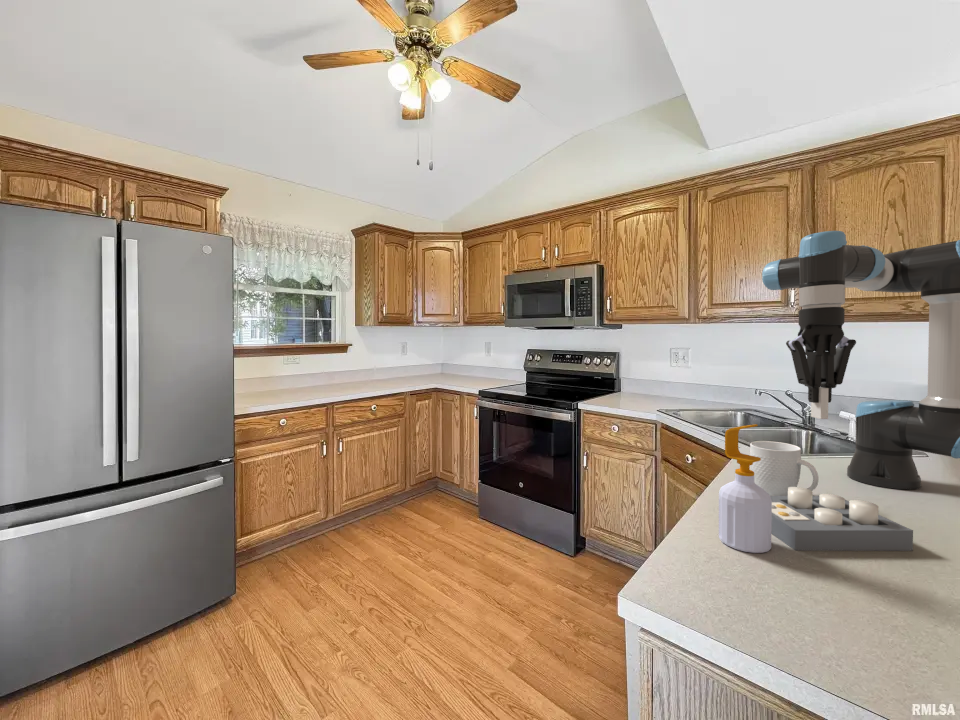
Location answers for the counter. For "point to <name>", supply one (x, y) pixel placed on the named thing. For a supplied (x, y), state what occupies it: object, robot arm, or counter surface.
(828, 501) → the button
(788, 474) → the mug
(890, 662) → the counter surface
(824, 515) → the button
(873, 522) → the button
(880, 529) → the button board
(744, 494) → the soap bottle
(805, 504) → the button
